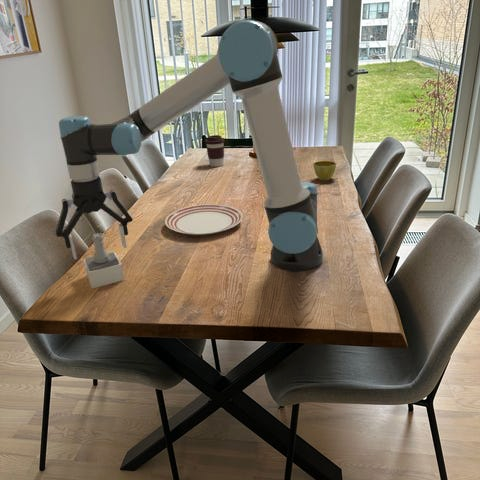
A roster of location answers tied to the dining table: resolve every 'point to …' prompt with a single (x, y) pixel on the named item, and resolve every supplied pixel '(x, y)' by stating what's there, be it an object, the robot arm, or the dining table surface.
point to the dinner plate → (203, 219)
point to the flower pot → (324, 169)
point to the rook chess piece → (100, 249)
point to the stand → (104, 271)
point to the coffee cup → (215, 150)
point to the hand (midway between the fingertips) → (100, 251)
